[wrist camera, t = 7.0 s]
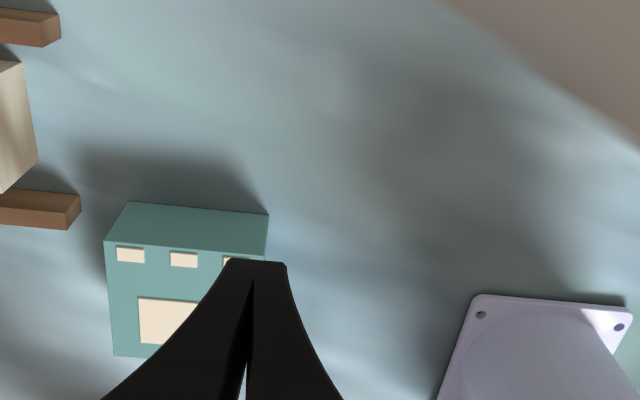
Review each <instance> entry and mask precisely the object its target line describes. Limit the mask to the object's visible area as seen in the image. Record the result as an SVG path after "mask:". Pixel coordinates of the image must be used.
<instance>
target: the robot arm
mask: <svg viewBox="0 0 640 400" xmlns="http://www.w3.org/2000/svg"><path fill="white" fill-rule="evenodd" d="M479 311H483V312H482V313H479V314H476V313H477V312H479ZM632 320H633V314H632V313H631V311H630V310H629V309H628V308H625V307H618V306H607V305H596V304H585V303H574V302H563V301H553V300H542V299H531V298H520V297H509V296H498V295H487V294H481V295H478V296H476V297H475V298H473V300H472V302H471V304H470V307H469V310H468V313H467V316H466V318H465V321H464V324H463V327H462V330H461V333H460V335H459V338H458V341H457V344H456V347H455V349H454V352H453V355H452V358H451V361H450V363H449V366H448V369H447V372H446V375H445V377H444V380H443V383H442V386H441V389H440V391H439V394H438V397H437V400H640V395H639V393H638V392H637V391H636V389H635V388H634V386H633V385H632V383H631V382H630V380H629V379H628V377H627V376H626V374H625V373H624V372H623V370H622V369H621V367H620V366H619V364H618V363H617V361H616V360H615V358H614V357H613V353H614V352H615V350H616V348H617V346H618V345H619V343H620V341H621V339H622V338H623V336H624V334H625V332H626V331H627V329H628V327H629V325H630V324H631V322H632ZM617 324H618V325H617ZM615 325H616V326H615ZM246 364H247V371H246V400H343V398H342V397H341V395H340V393H339V392H338V390H337V389H336V387H335V386H334V384H333V382H332V381H331V379H330V377H329V376H328V374H327V372H326V371H325V369H324V367H323V365H322V363H321V362H320V360H319V358H318V356H317V354H316V352H315V350H314V348H313V346H312V344H311V341H310V339H309V337H308V335H307V333H306V330H305V328H304V326H303V323H302V320H301V318H300V315H299V313H298V310H297V308H296V305H295V302H294V299H293V295H292V292H291V288H290V284H289V280H288V274H287V266H286V265H285V264H284V263H283V262H275V261H264V260H254V259H243V258H233V257H232V258H230V259H229V260H227V261H226V263H225V265H224V267H223V269H222V271H221V272H220V274H219V276H218V277H217V279H216V280H215V282H214V283H213V285H212V286H211V288H210V289H209V290H208V292H207V293H206V294H205V296H204V297H203V298H202V300H201V301H200V302H199V304H198V305H197V306H196V307H195V309H194V310H193V311H192V313H191V314H190V315H189V316H188V317H187V318H186V320H185V321H184V322H183V323H182V324H181V325H180V326H179V327H178V329H177V330H176V331H175V332H174V333H173V334H172V335H171V336H170V338H169V339H168V340H167V341H166V342H165V343H164V344H163V345H162V346H161V347H160V348H159V349H158V350H157V351H156V352H155V353H154V354H153V355H152V356H151V357H150V358H149V359H147V360H146V361H145V362H144V363H143V364H142V365H141V366H140V367H139V368H138V369H137V370H135V371H134V372H133V373H132V374H131V375H130V376H128V377H127V378H126V379H125V380H124V381H123V382H121V383H120V384H119V385H118V386H117V387H115V388H114V389H113V390H112V391H110V392H109V393H108V394H107V395H105V396H104V397H103V398H101V399H100V400H238V398H239V393H240V389H241V385H242V381H243V377H244V372H245V368H246Z"/></svg>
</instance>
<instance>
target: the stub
mask: <svg viewBox="0 0 640 400" xmlns="http://www.w3.org/2000/svg"><path fill="white" fill-rule="evenodd" d="M38 161H39V157H38V151H37V146H36V140H35V134H34V128H33V123H32V117H31V111H30V106H29V100H28V94H27V88H26V83H25V77H24V71H23V65H22V62H14V61H4V60H0V194H3V193H4V192H5V191H6V190H7V189H8V188H9V187H10V186H11V185H13V184H14V183H15V182H16V181H17V180H18V179H19V178H20V177H21V176H23V175H24V174H25V173H26V172H27V171H28V170H29V169H30V168H31V167H33V166H34V165H35V164H36V163H37V162H38Z"/></svg>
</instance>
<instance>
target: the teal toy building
mask: <svg viewBox="0 0 640 400" xmlns="http://www.w3.org/2000/svg"><path fill="white" fill-rule="evenodd" d="M268 222H269V215H260V214H250V213H240V212H230V211H221V210H211V209H201V208H191V207H181V206H171V205H161V204H152V203H142V202H132V201H128V202H127V203H126V205H125V207H124V208H123V210H122V211H121V213H120V215H119V216H118V218H117V219H116V221H115V223H114V224H113V226H112V227H111V229H110V231H109V232H108V234H107V235H106V237H105V239H104V240H103V245H104V255H105V266H106V277H107V288H108V298H109V309H110V320H111V330H112V341H113V352H114V356H123V357H136V358H150V357H151V356H152V355H153V354H154V353H155V352H156V351H157V350H158V349H159V348H160V347H161V346H162V345H163V344H164V343H165V342H166V341H167V340H168V339H169V338H170V336H171V335H172V334H173V333H174V332H175V331H176V330H177V329H178V327H179V326H180V325H181V324H182V323H183V322H184V321H185V320H186V318H187V317H188V316H189V315H190V314H191V313H192V311H193V310H194V309H195V307H196V306H197V305H198V304H199V302H200V301H201V300H202V298H203V297H204V296H205V294H206V293H207V292H208V290H209V289H210V288H211V286H212V285H213V283H214V282H215V280H216V279H217V277H218V276H219V274H220V272H221V271H222V269H223V267H224V265H225V263H226V261H227V260H229V259H230V258H232V257H233V258H243V259H254V260H264V261H265V254H266V243H267V233H268ZM246 366H247V364H246Z"/></svg>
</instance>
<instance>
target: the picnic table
mask: <svg viewBox="0 0 640 400" xmlns="http://www.w3.org/2000/svg"><path fill="white" fill-rule="evenodd" d="M60 38H61V30H60V22H59V15H57V14H49V13H41V12H33V11H26V10H18V9H10V8H2V7H0V42H1V43H9V44H17V45H25V46H33V47H42V48H43V47H44V46H46V45H48V44H50V43H52V42H54V41H56V40H58V39H60ZM80 212H81V204H80V196H79V195H73V194H63V193H53V192H43V191H33V190H24V189H14V188H8V189H7V190H6V191H5V192H4V193H3V194H0V224H5V225H16V226H26V227H37V228H47V229H57V230H67V229H68V228H69V227H70V226H71V224H72V223H73V222H74V220H75V219H76V218H77V216H78V215H79V214H80Z"/></svg>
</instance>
